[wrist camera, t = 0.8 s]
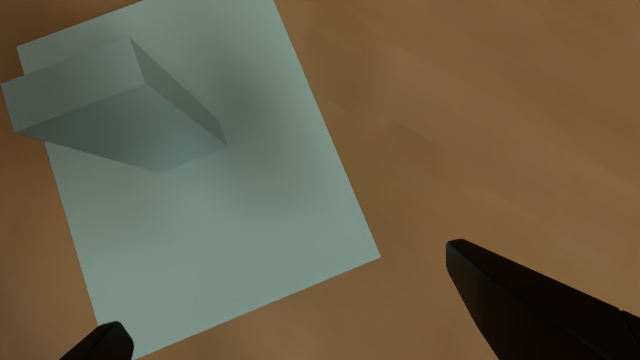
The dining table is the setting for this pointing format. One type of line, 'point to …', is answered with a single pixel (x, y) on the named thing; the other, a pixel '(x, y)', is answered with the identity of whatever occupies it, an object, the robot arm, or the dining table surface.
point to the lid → (188, 163)
